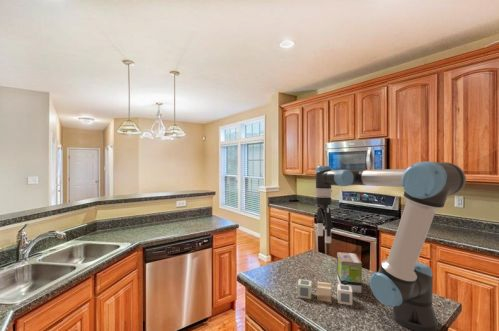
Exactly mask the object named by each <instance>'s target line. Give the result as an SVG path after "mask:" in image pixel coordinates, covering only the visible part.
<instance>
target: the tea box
mask: <svg viewBox="0 0 499 331" xmlns="http://www.w3.org/2000/svg"><path fill="white" fill-rule="evenodd" d="M362 270H363V263H362V261H361V260H360V258H359V257H358V255H357V254H356V253H351V252H339V251H338V252H337V254H336V279H337V282H338V284H340V285H348V286H351V288H352V293H358V294H359V293H361V294H362V287H363V286H362V282H363V281H362V275H363V271H362Z"/></svg>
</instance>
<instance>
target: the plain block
mask: <svg viewBox="0 0 499 331" xmlns="http://www.w3.org/2000/svg"><path fill="white" fill-rule="evenodd" d="M316 289H317V292H316V293H317V294H316V295H317V296H316V298H317V301H320V302H327V303H332V283H331V282H324V281H317V286H316Z"/></svg>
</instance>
